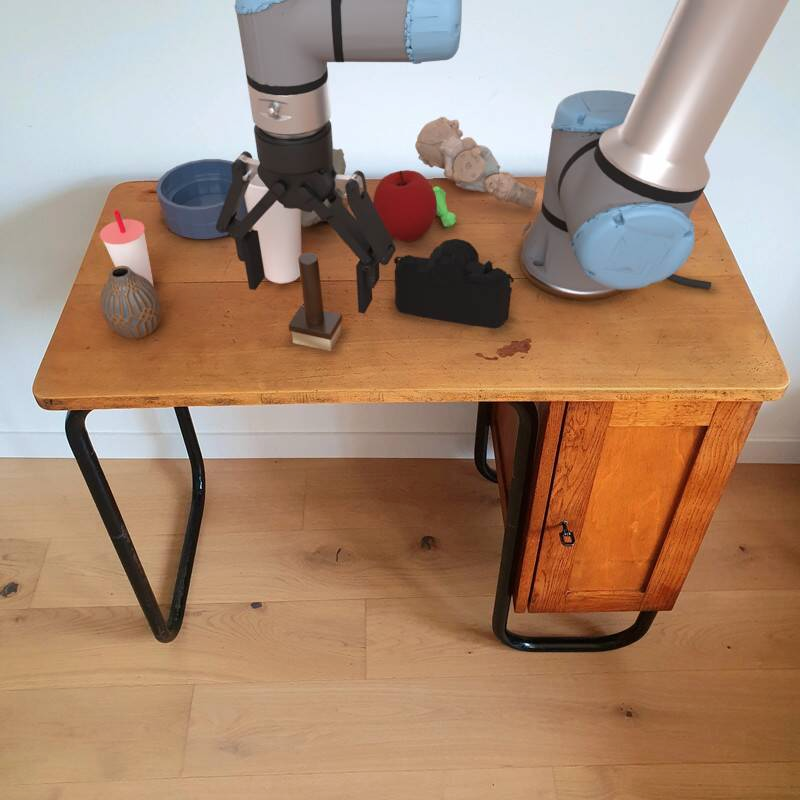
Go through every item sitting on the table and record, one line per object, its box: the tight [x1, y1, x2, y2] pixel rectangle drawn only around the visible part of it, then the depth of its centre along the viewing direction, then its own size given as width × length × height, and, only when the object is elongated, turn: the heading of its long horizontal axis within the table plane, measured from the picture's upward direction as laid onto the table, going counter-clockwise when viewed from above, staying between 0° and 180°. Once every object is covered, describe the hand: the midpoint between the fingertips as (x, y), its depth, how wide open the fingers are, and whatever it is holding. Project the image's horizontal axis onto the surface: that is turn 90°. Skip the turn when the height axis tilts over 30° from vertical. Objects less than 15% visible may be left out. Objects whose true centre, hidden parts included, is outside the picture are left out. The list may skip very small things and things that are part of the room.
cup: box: [99, 209, 154, 286], centre depth 98 cm, size 5×5×12 cm
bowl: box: [155, 158, 248, 240], centre depth 112 cm, size 13×13×6 cm
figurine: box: [414, 116, 539, 209], centre depth 116 cm, size 9×8×20 cm
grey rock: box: [301, 148, 347, 228], centre depth 111 cm, size 14×10×10 cm
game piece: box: [432, 186, 458, 228], centre depth 111 cm, size 4×4×6 cm
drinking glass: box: [244, 174, 303, 285], centre depth 99 cm, size 7×7×15 cm
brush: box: [288, 252, 343, 352], centre depth 91 cm, size 5×4×12 cm
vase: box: [100, 266, 163, 339], centre depth 94 cm, size 7×7×9 cm
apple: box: [372, 169, 437, 242], centre depth 106 cm, size 9×9×10 cm
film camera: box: [393, 238, 515, 329], centre depth 97 cm, size 15×10×9 cm, turn 74°
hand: (310, 294), depth 90 cm, fingers open, 13 cm apart
